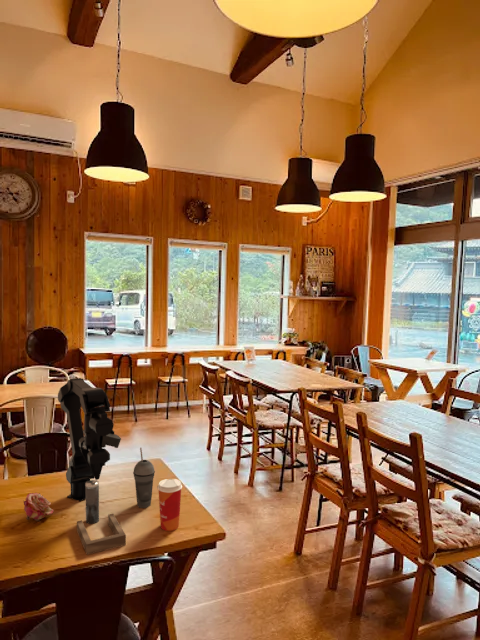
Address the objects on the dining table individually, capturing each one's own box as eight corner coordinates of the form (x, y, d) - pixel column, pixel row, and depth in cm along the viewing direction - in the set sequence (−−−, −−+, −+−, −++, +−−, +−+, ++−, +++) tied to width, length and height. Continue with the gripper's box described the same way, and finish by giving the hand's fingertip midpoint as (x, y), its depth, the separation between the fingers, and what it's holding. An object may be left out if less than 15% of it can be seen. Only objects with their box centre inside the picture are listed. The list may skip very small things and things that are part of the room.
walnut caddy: (76, 530, 145) (76, 521, 145) (113, 522, 151) (113, 513, 151) (86, 554, 133) (86, 544, 133) (125, 544, 138) (125, 534, 138)
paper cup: (158, 520, 152) (158, 478, 151) (182, 520, 153) (182, 477, 152) (156, 533, 145) (156, 488, 144) (181, 532, 145) (181, 488, 144)
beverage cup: (150, 511, 159) (150, 452, 157) (129, 508, 160) (129, 450, 159) (158, 501, 166) (158, 445, 164) (138, 499, 167) (138, 443, 166)
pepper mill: (83, 522, 151) (82, 483, 150) (92, 516, 154) (91, 479, 153) (92, 525, 149) (92, 486, 148) (101, 519, 153) (101, 481, 152)
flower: (15, 523, 146) (31, 502, 146) (14, 505, 154) (29, 485, 154) (43, 533, 151) (59, 512, 151) (40, 514, 159) (55, 495, 159)
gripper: (126, 432, 151) (126, 480, 152) (111, 417, 167) (111, 460, 168) (89, 437, 145) (90, 487, 146) (78, 421, 162) (78, 466, 163)
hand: (94, 474), depth 156 cm, fingers open, 9 cm apart
